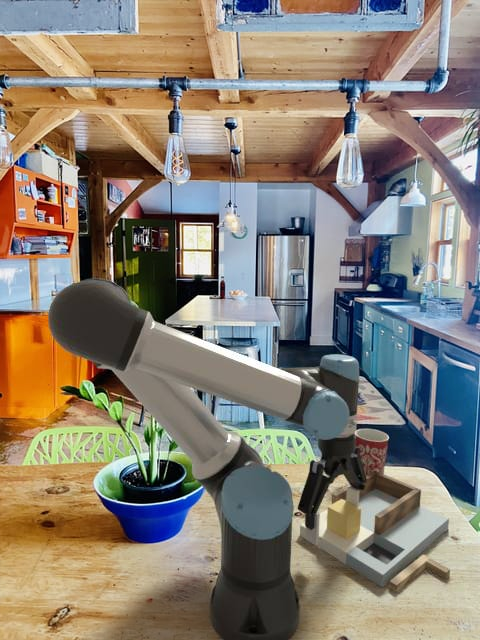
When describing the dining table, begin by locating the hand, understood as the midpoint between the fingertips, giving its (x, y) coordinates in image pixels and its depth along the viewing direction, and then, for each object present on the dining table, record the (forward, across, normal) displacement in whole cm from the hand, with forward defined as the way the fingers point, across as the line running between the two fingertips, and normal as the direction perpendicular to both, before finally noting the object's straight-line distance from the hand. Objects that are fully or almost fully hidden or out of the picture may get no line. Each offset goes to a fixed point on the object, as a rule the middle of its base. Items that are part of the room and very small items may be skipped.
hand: (332, 528), depth 89 cm
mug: (+4, +30, +12) cm, 32 cm away
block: (+2, +4, 0) cm, 4 cm away
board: (+4, +12, -3) cm, 13 cm away
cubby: (+2, +17, 0) cm, 17 cm away
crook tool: (+4, +5, -17) cm, 18 cm away
